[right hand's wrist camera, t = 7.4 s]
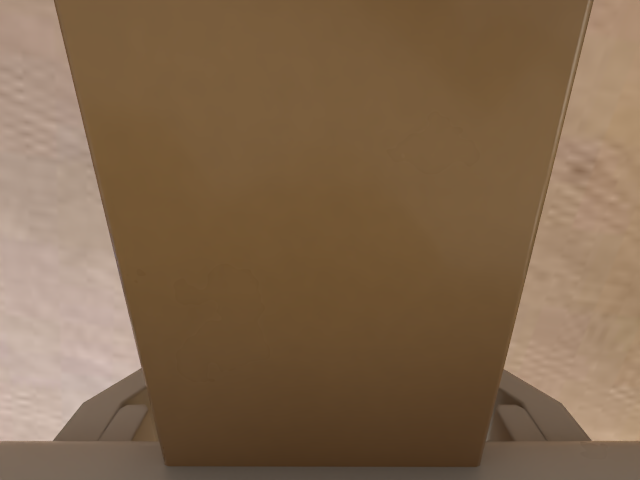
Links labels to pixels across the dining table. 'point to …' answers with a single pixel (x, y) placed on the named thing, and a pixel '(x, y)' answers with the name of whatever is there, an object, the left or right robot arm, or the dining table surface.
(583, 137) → the dining table surface
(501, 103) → the bar
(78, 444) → the right robot arm
